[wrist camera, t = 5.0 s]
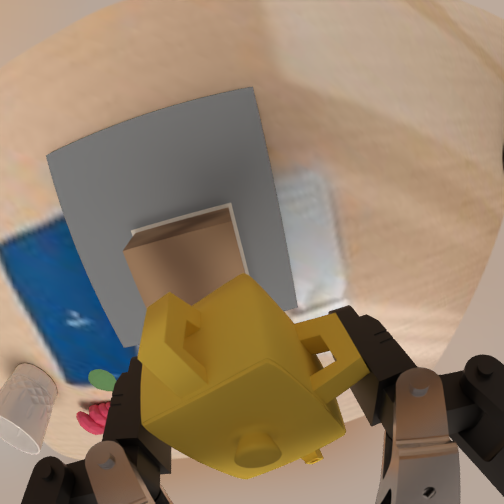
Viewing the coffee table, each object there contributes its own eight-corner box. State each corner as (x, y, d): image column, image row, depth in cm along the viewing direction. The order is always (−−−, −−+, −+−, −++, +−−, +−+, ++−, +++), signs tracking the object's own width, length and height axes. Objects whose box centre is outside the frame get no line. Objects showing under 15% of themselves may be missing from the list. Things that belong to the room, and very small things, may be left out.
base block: (228, 207, 24) (231, 221, 20) (250, 292, 27) (256, 317, 23) (135, 233, 24) (122, 251, 20) (166, 313, 27) (161, 339, 23)
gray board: (251, 88, 21) (252, 86, 21) (295, 303, 29) (298, 307, 28) (50, 154, 21) (45, 155, 20) (125, 342, 29) (123, 348, 28)
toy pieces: (138, 434, 35) (135, 458, 31) (70, 398, 32) (61, 421, 27) (183, 398, 33) (182, 425, 29) (102, 352, 29) (92, 379, 25)
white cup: (4, 358, 28) (-26, 408, 19) (43, 358, 28) (13, 417, 19) (31, 399, 31) (10, 449, 22) (71, 401, 31) (52, 458, 22)
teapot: (358, 350, 12) (414, 439, 7) (249, 414, 13) (269, 509, 8) (257, 199, 9) (315, 274, 4) (119, 301, 10) (75, 420, 5)
